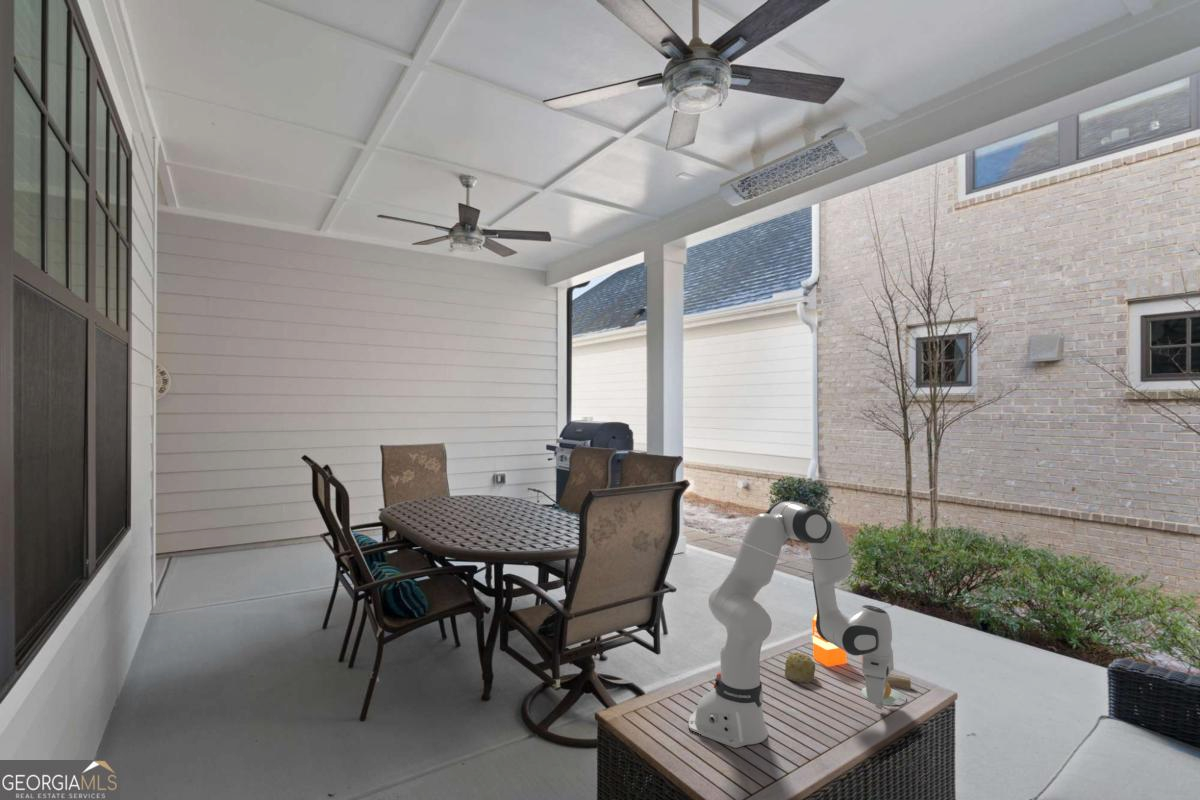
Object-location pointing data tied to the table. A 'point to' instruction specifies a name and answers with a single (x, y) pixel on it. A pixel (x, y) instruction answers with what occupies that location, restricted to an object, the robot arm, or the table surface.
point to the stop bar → (898, 681)
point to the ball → (887, 690)
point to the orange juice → (826, 649)
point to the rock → (799, 668)
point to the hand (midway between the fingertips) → (879, 706)
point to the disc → (889, 699)
